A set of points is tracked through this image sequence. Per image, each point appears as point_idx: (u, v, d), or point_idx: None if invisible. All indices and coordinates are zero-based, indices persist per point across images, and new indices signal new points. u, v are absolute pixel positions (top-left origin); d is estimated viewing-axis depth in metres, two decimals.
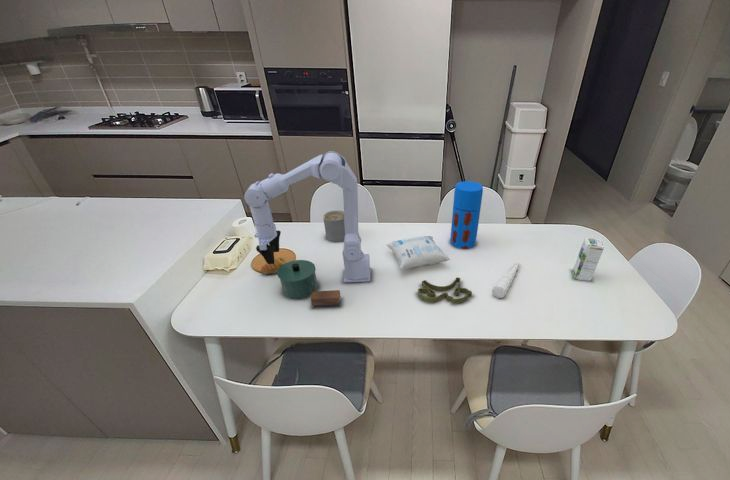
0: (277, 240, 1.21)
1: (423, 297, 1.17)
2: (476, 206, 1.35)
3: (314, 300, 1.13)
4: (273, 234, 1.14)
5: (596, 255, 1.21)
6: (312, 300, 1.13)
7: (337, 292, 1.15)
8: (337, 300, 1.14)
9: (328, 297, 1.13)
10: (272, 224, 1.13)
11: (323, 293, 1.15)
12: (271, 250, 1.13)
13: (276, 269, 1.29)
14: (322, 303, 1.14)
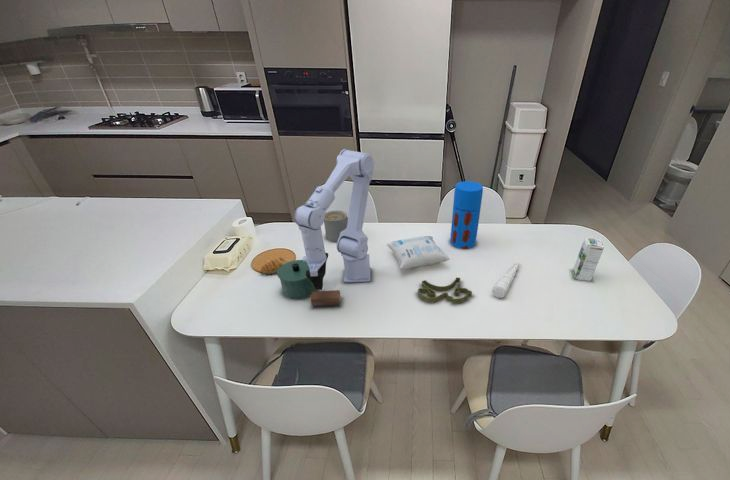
0: (324, 263, 1.12)
1: (423, 297, 1.17)
2: (476, 206, 1.35)
3: (314, 300, 1.13)
4: (323, 258, 1.05)
5: (596, 255, 1.21)
6: (312, 300, 1.13)
7: (337, 292, 1.15)
8: (337, 300, 1.14)
9: (328, 297, 1.13)
10: (323, 247, 1.04)
11: (323, 293, 1.15)
12: (322, 276, 1.04)
13: (276, 269, 1.29)
14: (322, 303, 1.14)
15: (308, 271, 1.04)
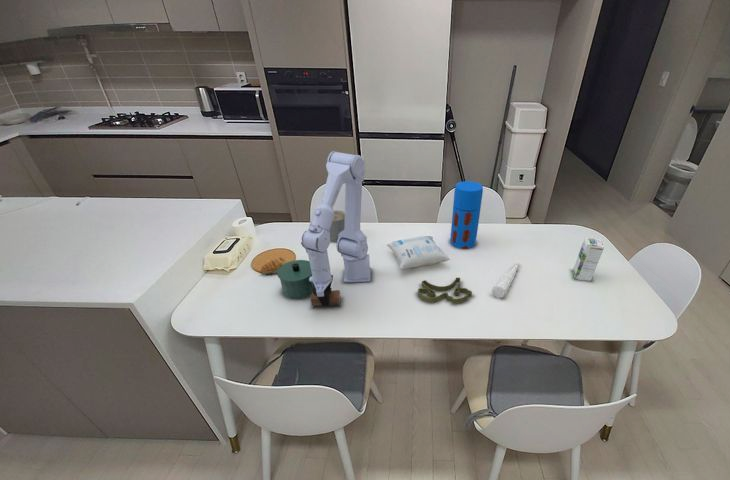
0: (329, 285, 1.15)
1: (423, 297, 1.17)
2: (476, 206, 1.35)
3: (314, 300, 1.13)
4: (329, 278, 1.09)
5: (596, 255, 1.21)
6: (312, 300, 1.13)
7: (337, 292, 1.15)
8: (337, 300, 1.14)
9: None
10: (329, 268, 1.08)
11: None
12: (328, 293, 1.09)
13: (276, 269, 1.29)
14: None
15: (315, 288, 1.09)
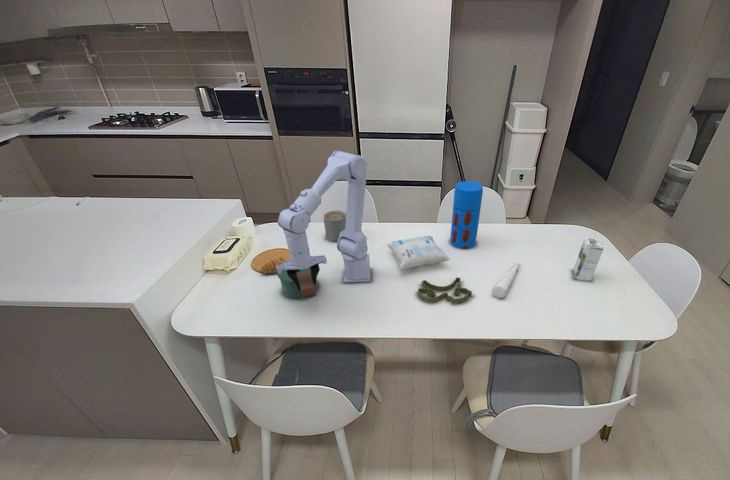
0: (312, 275, 1.07)
1: (423, 297, 1.17)
2: (476, 206, 1.35)
3: (297, 277, 1.11)
4: (297, 265, 1.02)
5: (596, 255, 1.21)
6: None
7: (310, 286, 1.06)
8: (301, 291, 1.06)
9: (300, 283, 1.07)
10: (298, 256, 1.00)
11: (306, 278, 1.09)
12: (289, 276, 1.04)
13: (276, 269, 1.29)
14: None
15: None
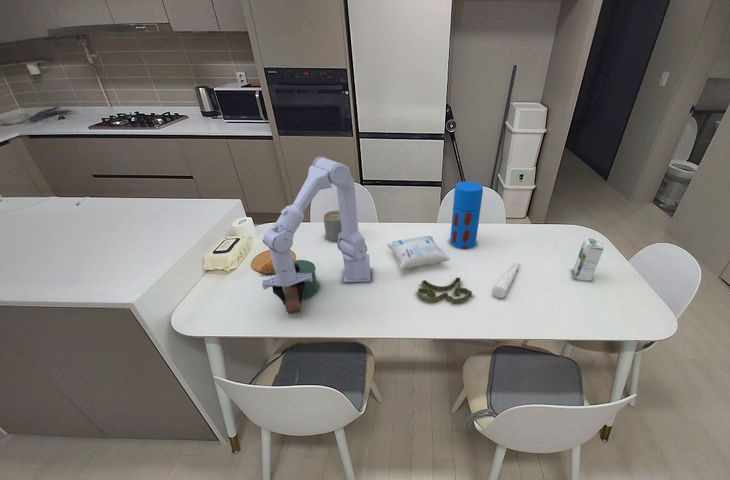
0: None
1: (423, 297, 1.17)
2: (476, 206, 1.35)
3: None
4: (282, 282, 1.04)
5: (596, 255, 1.21)
6: None
7: (294, 303, 1.08)
8: (285, 307, 1.08)
9: (286, 299, 1.09)
10: (282, 273, 1.02)
11: (293, 294, 1.11)
12: None
13: None
14: None
15: None
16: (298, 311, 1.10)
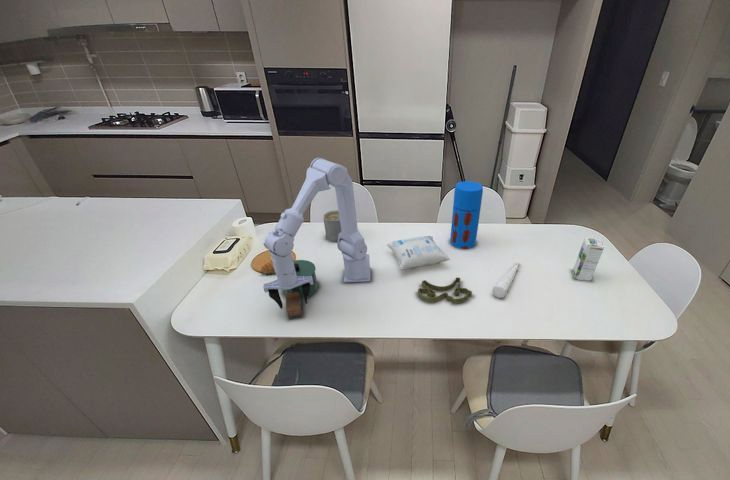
0: (303, 294, 1.10)
1: (423, 297, 1.17)
2: (476, 206, 1.35)
3: (286, 297, 1.14)
4: (283, 285, 1.05)
5: (596, 255, 1.21)
6: None
7: (295, 307, 1.09)
8: (287, 312, 1.09)
9: (287, 303, 1.11)
10: (283, 277, 1.03)
11: (294, 299, 1.12)
12: None
13: None
14: None
15: None
16: (299, 316, 1.11)
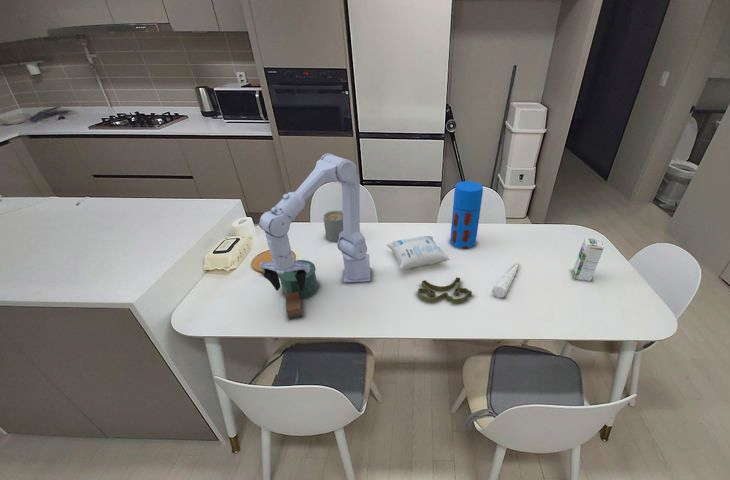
0: (277, 274, 1.08)
1: (423, 297, 1.17)
2: (476, 206, 1.35)
3: (286, 297, 1.14)
4: None
5: (596, 255, 1.21)
6: None
7: (295, 307, 1.09)
8: (287, 312, 1.09)
9: (287, 303, 1.11)
10: None
11: (294, 299, 1.12)
12: None
13: None
14: None
15: (297, 274, 1.03)
16: (299, 316, 1.11)
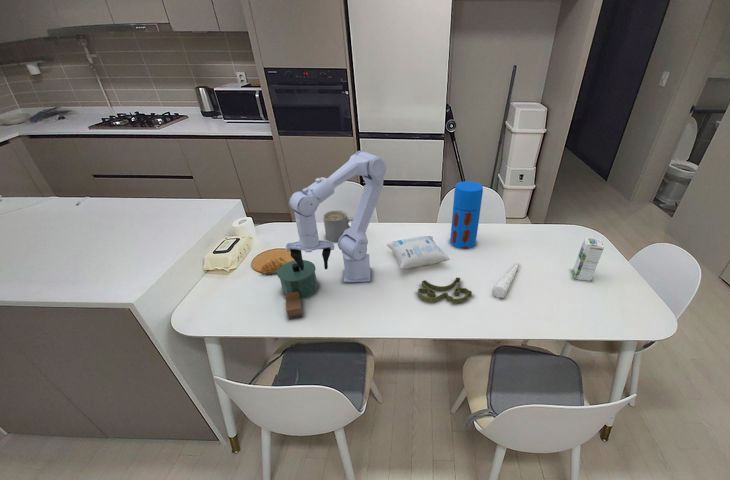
0: (301, 254, 1.13)
1: (423, 297, 1.17)
2: (476, 206, 1.35)
3: (286, 297, 1.14)
4: None
5: (596, 255, 1.21)
6: None
7: (295, 307, 1.09)
8: (287, 312, 1.09)
9: (287, 303, 1.11)
10: None
11: (294, 299, 1.12)
12: None
13: (276, 269, 1.29)
14: None
15: (324, 252, 1.09)
16: (299, 316, 1.11)
